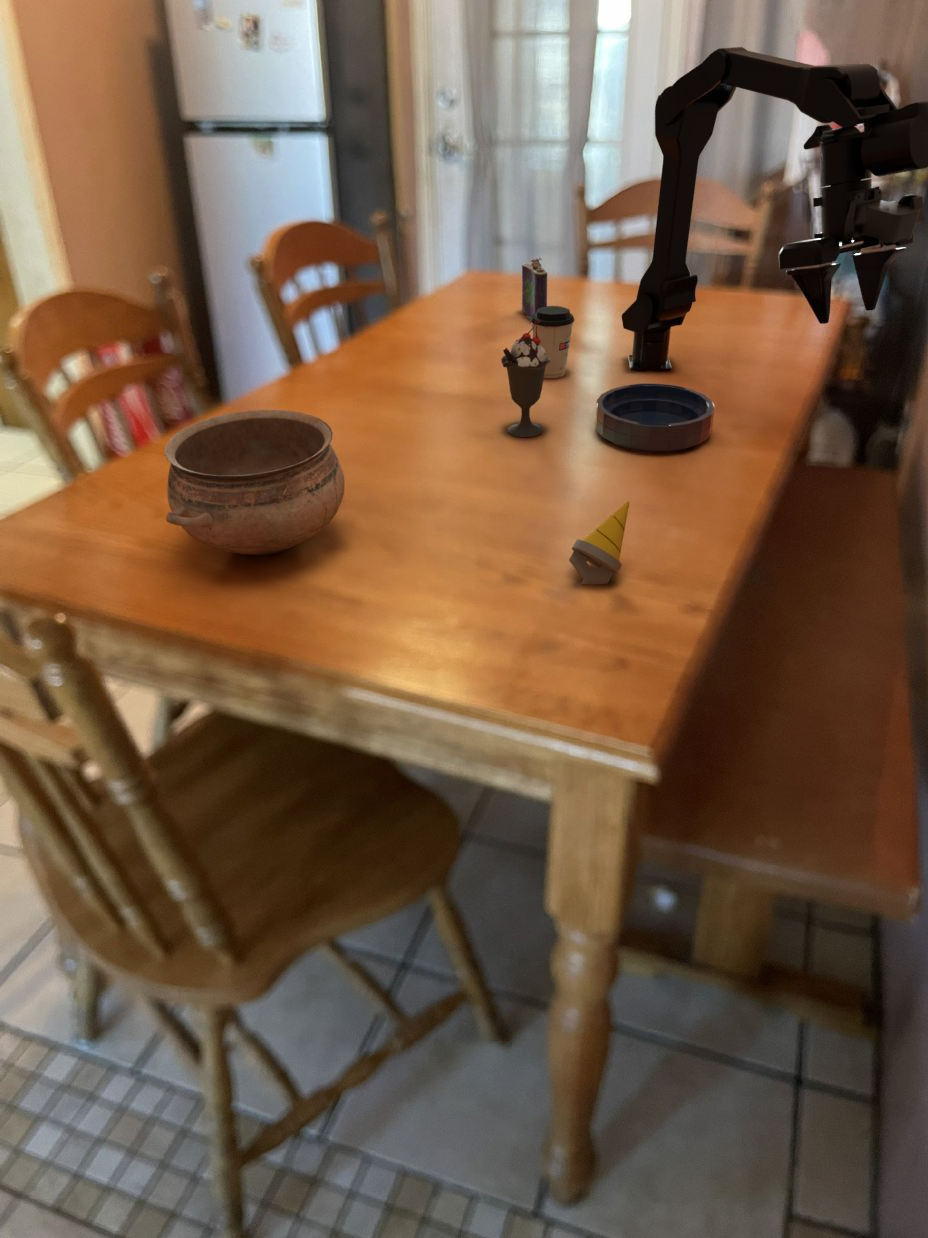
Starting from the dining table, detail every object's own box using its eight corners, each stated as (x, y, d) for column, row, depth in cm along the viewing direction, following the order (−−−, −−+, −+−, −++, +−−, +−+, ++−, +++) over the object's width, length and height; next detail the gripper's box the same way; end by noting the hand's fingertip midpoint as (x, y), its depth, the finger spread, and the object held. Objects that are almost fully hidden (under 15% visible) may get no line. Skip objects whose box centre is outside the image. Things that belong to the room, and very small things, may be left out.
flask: (519, 311, 176) (520, 253, 170) (533, 309, 177) (534, 251, 171) (536, 324, 169) (537, 264, 163) (551, 323, 169) (553, 262, 163)
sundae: (554, 423, 129) (557, 316, 121) (542, 442, 124) (544, 331, 116) (509, 419, 131) (509, 313, 123) (495, 437, 126) (494, 327, 118)
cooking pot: (258, 618, 90) (238, 507, 84) (123, 572, 98) (94, 468, 92) (396, 513, 108) (389, 415, 101) (272, 481, 116) (258, 388, 109)
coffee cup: (523, 378, 145) (523, 314, 140) (536, 364, 151) (538, 302, 145) (565, 382, 143) (567, 318, 137) (577, 368, 148) (580, 305, 143)
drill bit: (555, 573, 97) (602, 492, 97) (599, 599, 97) (646, 517, 97) (560, 568, 91) (610, 483, 92) (606, 595, 91) (656, 509, 92)
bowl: (593, 411, 133) (594, 383, 131) (702, 411, 132) (705, 383, 129) (597, 455, 120) (599, 425, 118) (718, 456, 119) (722, 426, 117)
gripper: (855, 181, 100) (856, 328, 105) (955, 162, 108) (952, 300, 114) (773, 196, 109) (778, 331, 115) (871, 178, 117) (872, 304, 123)
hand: (847, 316), depth 116 cm, fingers open, 9 cm apart
